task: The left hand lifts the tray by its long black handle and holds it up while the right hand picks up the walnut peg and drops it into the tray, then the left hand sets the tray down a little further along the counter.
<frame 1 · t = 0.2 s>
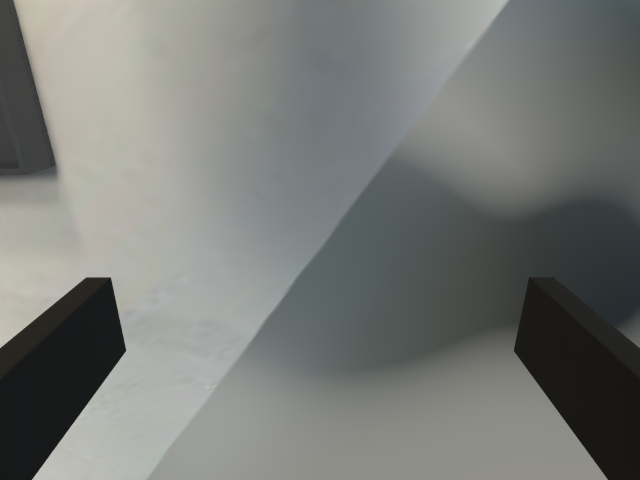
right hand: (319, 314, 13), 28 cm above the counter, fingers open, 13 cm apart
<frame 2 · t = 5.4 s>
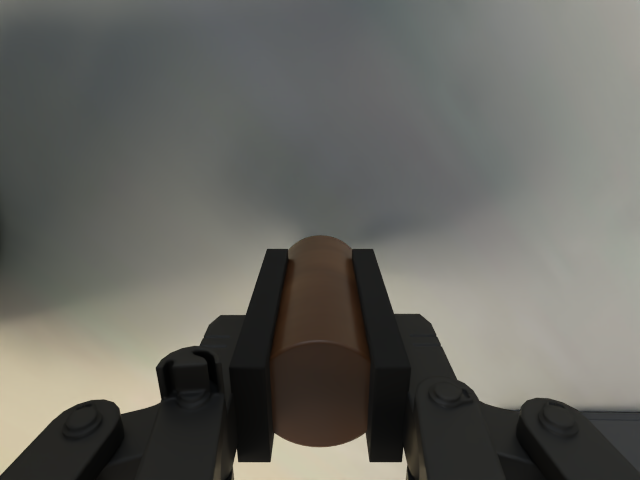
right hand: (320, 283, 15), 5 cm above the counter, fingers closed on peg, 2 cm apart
peg: (320, 272, 16), point 4 cm above the counter, touching right hand
when the right hand's fingers open (17 cm above the counter, at t = 10.5 s): peg drops 4 cm, resting on tray.
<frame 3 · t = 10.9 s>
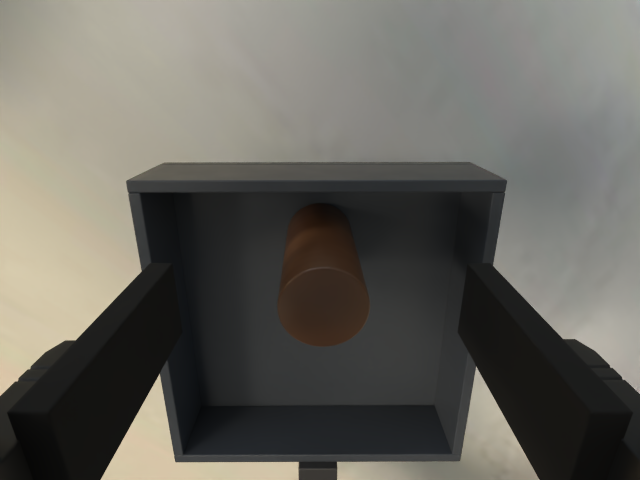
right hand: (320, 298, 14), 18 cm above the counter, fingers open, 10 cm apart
peg: (319, 233, 20), point 11 cm above the counter, touching tray
tray: (317, 297, 22), point 10 cm above the counter, touching left hand, peg
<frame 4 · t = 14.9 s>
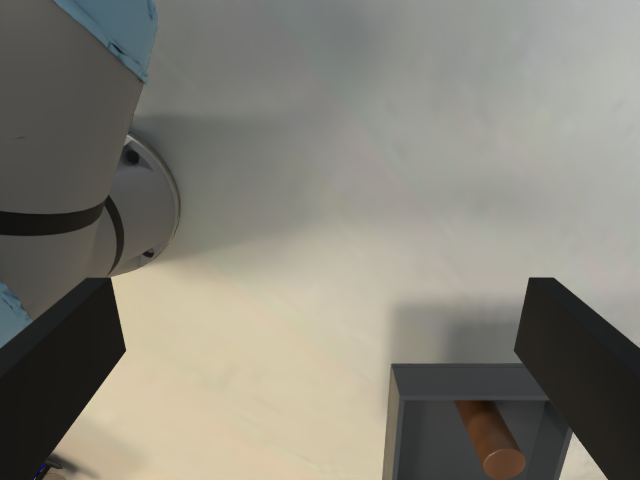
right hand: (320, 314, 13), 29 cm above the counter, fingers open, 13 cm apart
peg: (471, 398, 37), point 11 cm above the counter, touching tray
tray: (462, 426, 39), point 10 cm above the counter, touching left hand, peg
figurine character: (21, 451, 54), on the counter
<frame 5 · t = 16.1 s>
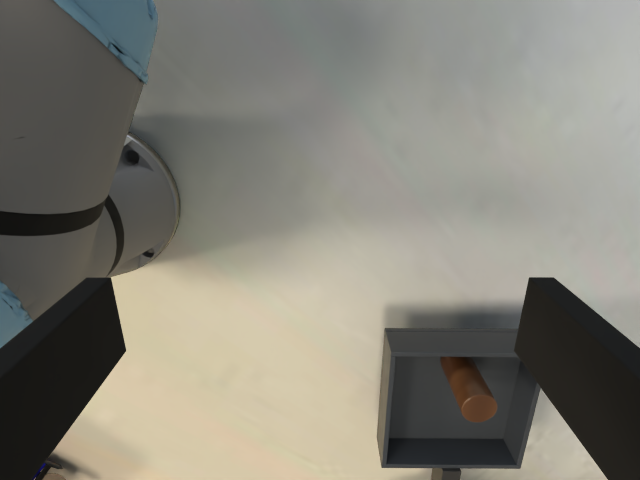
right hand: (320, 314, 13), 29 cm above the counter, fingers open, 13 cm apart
peg: (455, 359, 42), point 5 cm above the counter, touching tray
tray: (448, 386, 44), point 4 cm above the counter, touching left hand, peg
figurine character: (21, 451, 54), on the counter
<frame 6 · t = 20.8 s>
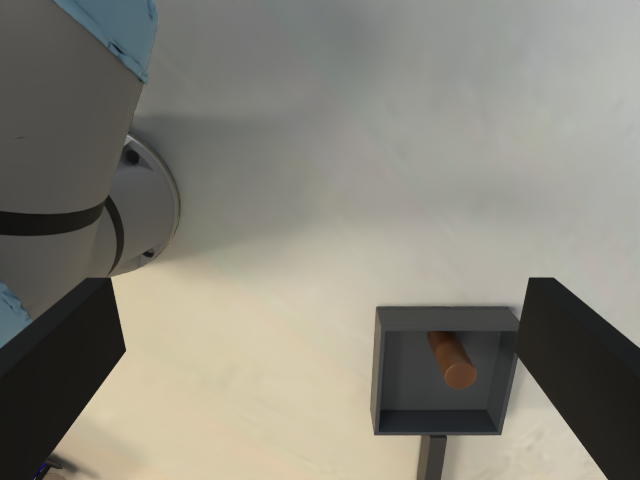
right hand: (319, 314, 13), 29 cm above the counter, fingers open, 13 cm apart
peg: (440, 335, 46), point 1 cm above the counter, touching tray
tray: (435, 360, 48), on the counter, touching peg
figurine character: (21, 451, 54), on the counter
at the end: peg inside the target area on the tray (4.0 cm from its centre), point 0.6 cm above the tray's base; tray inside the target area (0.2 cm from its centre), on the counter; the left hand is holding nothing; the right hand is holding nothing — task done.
